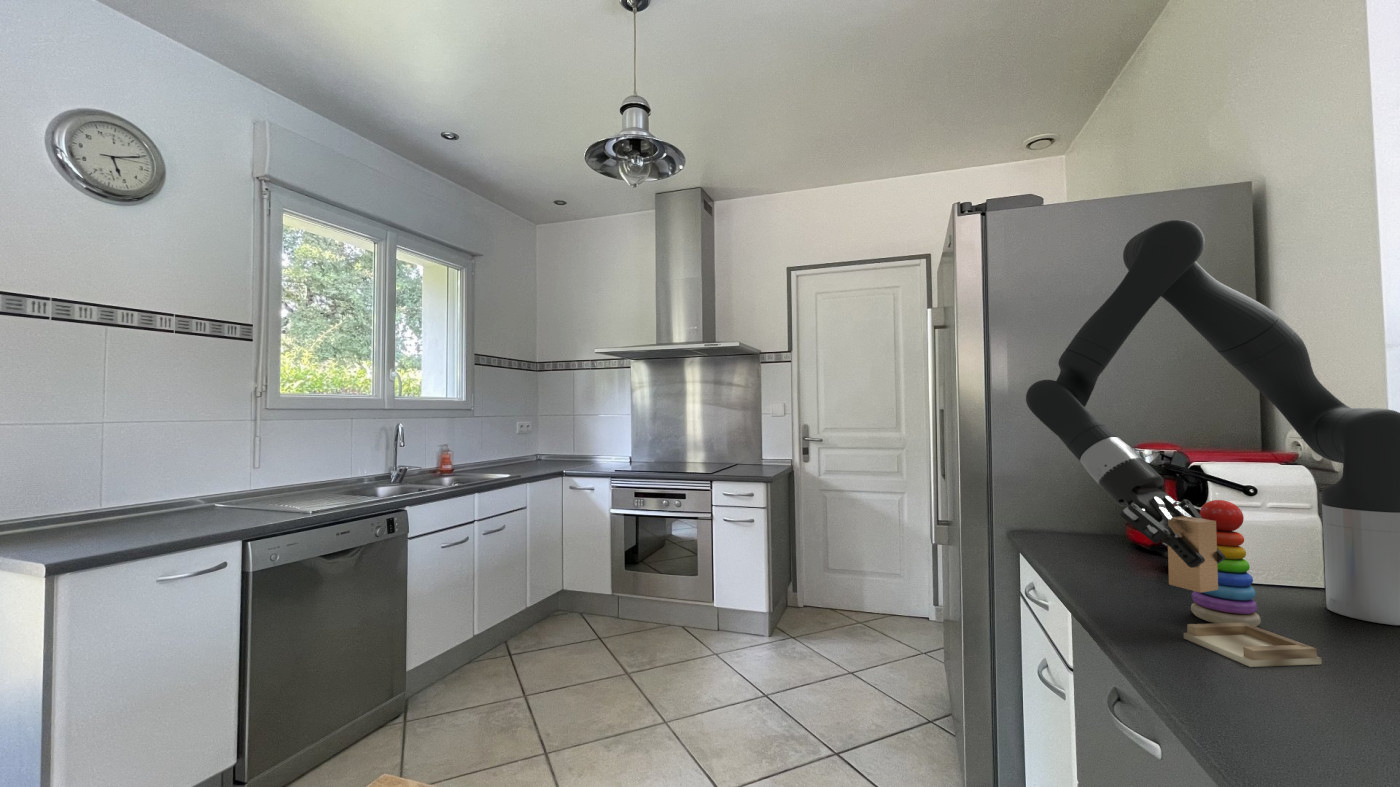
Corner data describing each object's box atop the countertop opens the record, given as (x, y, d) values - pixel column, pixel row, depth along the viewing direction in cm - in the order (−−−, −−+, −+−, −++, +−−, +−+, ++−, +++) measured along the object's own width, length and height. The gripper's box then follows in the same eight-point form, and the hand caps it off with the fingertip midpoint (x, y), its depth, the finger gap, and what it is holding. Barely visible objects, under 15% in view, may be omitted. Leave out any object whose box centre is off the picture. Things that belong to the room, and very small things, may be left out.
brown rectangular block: (1168, 584, 83) (1167, 517, 83) (1186, 581, 84) (1184, 515, 85) (1200, 592, 79) (1198, 522, 80) (1218, 589, 80) (1216, 520, 81)
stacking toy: (1275, 632, 82) (1271, 505, 83) (1213, 628, 84) (1209, 503, 84) (1235, 613, 90) (1231, 497, 90) (1179, 609, 91) (1175, 496, 92)
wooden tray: (1247, 636, 80) (1247, 622, 80) (1321, 664, 71) (1321, 648, 71) (1183, 638, 80) (1183, 624, 80) (1250, 666, 71) (1249, 651, 71)
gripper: (1105, 457, 87) (1198, 553, 75) (1165, 455, 92) (1262, 545, 80) (1073, 486, 92) (1156, 581, 80) (1132, 483, 97) (1219, 572, 85)
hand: (1208, 562), depth 80 cm, fingers closed on brown rectangular block, 4 cm apart
